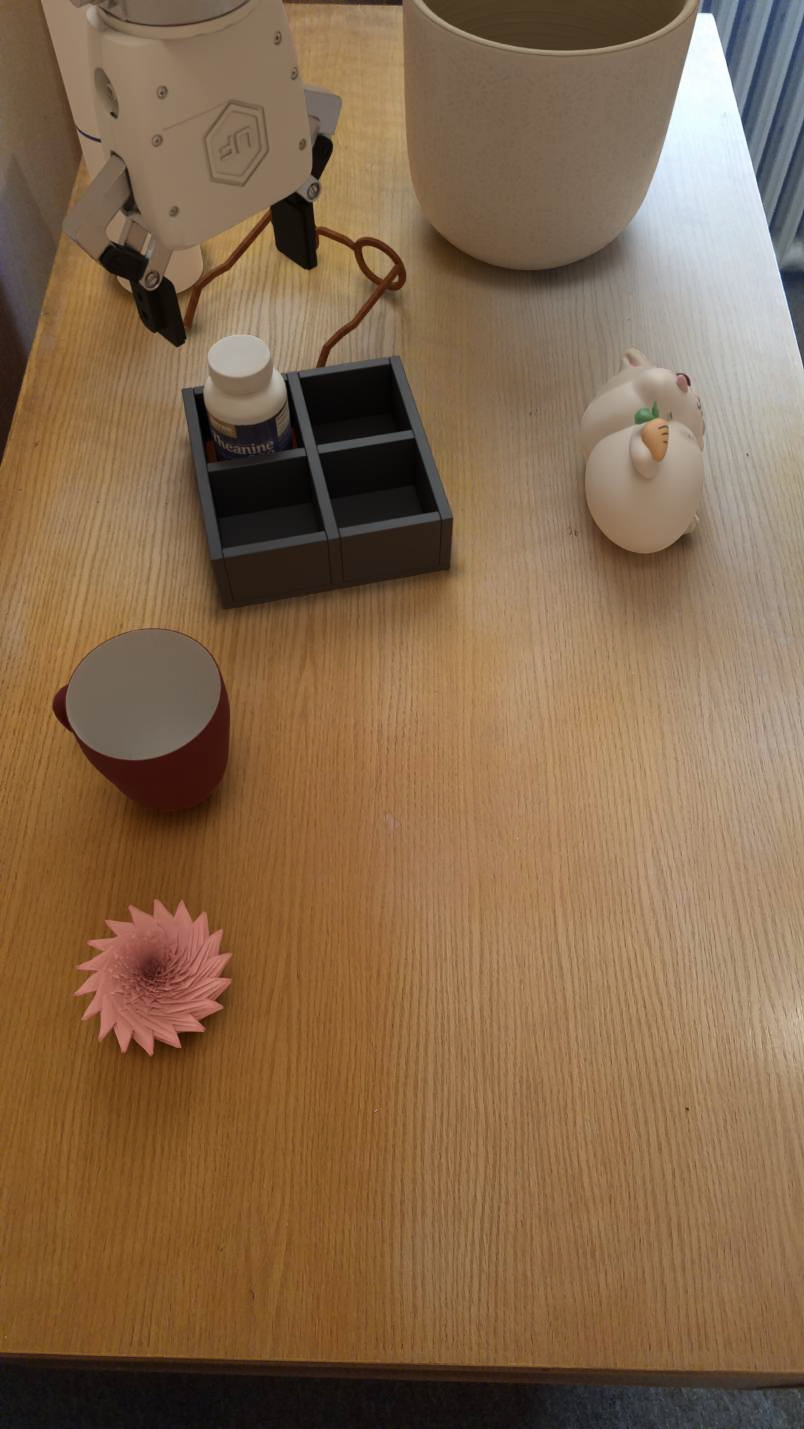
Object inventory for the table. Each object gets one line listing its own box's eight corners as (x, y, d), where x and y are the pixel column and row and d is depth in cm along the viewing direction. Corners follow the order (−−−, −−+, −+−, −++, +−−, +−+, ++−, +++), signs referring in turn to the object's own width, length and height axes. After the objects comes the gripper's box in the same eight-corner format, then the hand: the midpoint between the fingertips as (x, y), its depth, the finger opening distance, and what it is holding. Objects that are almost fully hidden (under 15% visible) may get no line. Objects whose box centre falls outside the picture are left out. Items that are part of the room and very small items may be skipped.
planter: (633, 155, 92) (683, -94, 76) (657, 307, 82) (722, 57, 65) (404, 152, 93) (405, -97, 76) (399, 303, 82) (399, 52, 66)
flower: (118, 1098, 51) (89, 1077, 47) (73, 957, 55) (42, 924, 50) (265, 1029, 53) (251, 1002, 48) (212, 897, 57) (194, 859, 52)
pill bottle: (210, 490, 71) (185, 379, 62) (229, 434, 74) (207, 322, 65) (286, 499, 70) (271, 389, 62) (302, 443, 73) (290, 331, 65)
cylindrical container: (142, 233, 86) (57, -124, 65) (218, 253, 85) (156, -105, 64) (100, 284, 83) (-5, -75, 62) (178, 305, 82) (98, -54, 60)
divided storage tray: (399, 409, 76) (399, 354, 72) (450, 568, 68) (453, 518, 64) (193, 442, 74) (181, 388, 70) (222, 609, 67) (210, 560, 62)
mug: (51, 820, 59) (-9, 737, 50) (99, 703, 63) (52, 607, 54) (226, 854, 58) (195, 775, 49) (264, 734, 62) (242, 641, 53)
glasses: (409, 299, 82) (409, 243, 78) (314, 393, 77) (309, 339, 72) (279, 242, 86) (272, 186, 82) (179, 328, 80) (167, 273, 76)
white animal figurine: (687, 486, 60) (670, 294, 66) (560, 523, 64) (554, 339, 70) (731, 564, 67) (712, 385, 73) (614, 593, 71) (605, 420, 77)
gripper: (53, 67, 41) (151, 399, 55) (374, -76, 46) (385, 259, 61) (-43, 0, 44) (74, 333, 58) (270, -127, 49) (305, 205, 64)
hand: (233, 295), depth 60 cm, fingers open, 9 cm apart
